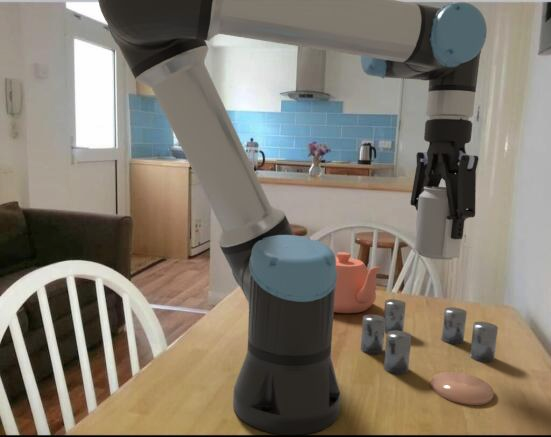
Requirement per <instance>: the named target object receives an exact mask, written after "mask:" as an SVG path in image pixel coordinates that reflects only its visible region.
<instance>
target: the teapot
mask: <svg viewBox="0 0 551 437" xmlns="http://www.w3.org/2000/svg"><path fill="white" fill-rule="evenodd" d="M351 255H352V254H351V253H350V252H345V251H338V252H337V253H336V256H335V258H336V270H337V272H336V273H337V282H336V285H335V300H334V313H338V314H357V313H361V312H362V313H363V312H365V311H367V310H368V309H369V308H370V307H372V305H374V303H375V301H376V300H377V298H376V297H377V294H376V290H377V274H378V272H379V270H381V269H382V268H383V266H373V267H370V268H369V269H368V267H367V266H366V265H365V263H364V262H363V261H362V260H361V259H356V258H353V257H351Z"/></svg>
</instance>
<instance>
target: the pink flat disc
mask: <svg viewBox="0 0 551 437" xmlns="http://www.w3.org/2000/svg"><path fill="white" fill-rule="evenodd" d="M430 385H431V388H432V390H433V391H434V392H435V394H437V395H438V396H440V397H441V398H444V399H446V400H447V401H450V402H454V403H457V404H461V405H468V406H481V405H486V404H489V403H491V401H493V398H494V389H493V387H492V385H490V384H489V383H488V382H486V381H485V380H483V379H481V378H480V377H477V376H474V375H471V374H469V373H464V372H458V371H441V372H439V373H435V374H434V375H433V376H432V378H431V384H430Z"/></svg>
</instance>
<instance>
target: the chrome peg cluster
mask: <svg viewBox="0 0 551 437" xmlns="http://www.w3.org/2000/svg"><path fill="white" fill-rule="evenodd" d="M406 305H407V304H406V302H405V301H402V300H400V299H395V298H394V299H393V298H391V299H385V301H384V311H383V312H384V314H383V316H382V315H378V314H372V313H371V314H370V313H369V314H364V315H363V316H362V326H361V335H360V336H361V341H360V350H361V351H362V352H363V353H365V354H369V355H381V354H382V353H383V352H384V361H383V364H384V365H383V369H384V370H385V371H386V372H388V373H389V374H393V375H406V374H408V372H409V365H410V355H411V343H412V334H410V333H408V332H406V331H404V325H405V314H406ZM466 321H467V311H466V310H465V309H462V308H459V307H451V306H450V307H449V306H448V307H445V308H444V312H443V323H442V332H441V340H442V341H443V342H444V343H447V344H451V345H462V344H464V342H465V341H464V339H465V331H466ZM498 327H499V326H497V325H496V324H493V323H491V322H487V321H475V322H474V323H473V327H472V335H471V336H472V337H471V343H470V345H471V346H470V354H469V356H470V358H472V359H473V360H474V361H477V362H481V363H493V362H494V360H495V355H496V345H497V338H498V329H499V328H498ZM385 334H386V338H385ZM384 339H386V340H384ZM384 342H385V350H384Z"/></svg>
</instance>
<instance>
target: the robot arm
mask: <svg viewBox="0 0 551 437" xmlns="http://www.w3.org/2000/svg"><path fill="white" fill-rule="evenodd" d="M98 5H99V9H100V11H101V14H102V17H103V18H104V20H105V22H106V24H107V26H108V27H107V28H108V30H109V33H110V34H111V37H112V39H113V40H114V42H115V43H116V45H117V46H118V48H119V50H120V52H121V54H122V55H123V58H124V59H125V62H126V63H127V66H128V68H129V69H130V71H131V73H132V75H133V78H135V81H136V82H137V83H139V84H142V85H144V86H147V87H149V88H151V90H152V92H153V94H154V96H155V97H156V100H157V102H158V103H159V104H158V105H159V106H160V108H161V110H162V112H163V114H164V116H165V118H166V120H167V122H168V124H169V126H170V128H171V130H172V132H173V133H174V136H175V138H176V139H177V142H178V144H179V146H180V148H181V150H182V152H183V153H184V156H185V158H186V160H187V162H188V164H189V166H190V167H191V170H192V172H193V174H194V176H195V178H196V180H197V182H198V184H199V186H200V188H201V190H202V191H203V193H204V196H205V197H206V200H207V201H208V204H209V207H210V208H211V210H212V213H213V214H214V216H215V218H216V220H217V222H218V224H219V226H220V228H221V233H220V236H219V239H218V245H219V248H220V249H221V251H222V253H223V255H224V257H225V259H226V262H227V263H228V265H229V267H230V269H231V273H232V277H233V278H234V279H235V281H236V283H237V285H238V286H239V287H240V289H241V291H242V293H243V295H244V297H245V299H246V301H247V303H248V327H247V329H248V330H247V352H246V355H245V358H244V359H243V360H244V361H243V362H242V364H241V365H242V366H241V368H240V369H239V370H240V371H239V372H238V373H239V374H238V375H237V376H238V377H237V379H236V382H235V384H234V387H233V403H232V405H233V410H234V413H235V414H236V415H237V417H238V418H239V419H240V420H241V421H243V422H244V423H245V424H247V425H249V426H251V427H252V428H255V429H257V430H259V431H262V432H267V433H271V434H275V435H284V436H299V435H306V434H312V433H316V432H318V431H321V430H325V429H326V428H328V427H330V426H331V425H332V424H333V423H335V421H337V419H339V418H338V417H339V416H340V414H341V400H342V397H341V390H340V386H339V382H338V379H337V376H336V372H335V368H334V365H333V360H332V355H331V354H332V341H333V340H332V339H333V327H334V326H333V325H334V314H335V312H334V300H335V285H336V282H337V273H336V272H337V270H336V258H335V257H336V255H335V253H334V252H333V250H332V249H331V248H330V247H329V245H327V244H325V243H323V242H321V241H319V240H318V239H311V237H307V236H302V235H295V233H294V231H293V229H292V226H291V224H290V222H289V219H288V218H287V215H286V214H285V212H284V211H283V210H282V209H279V208H276V207H273V206H272V205H271V204H270V202H269V199H268V197H267V194H266V193H265V191H264V189H263V186H262V185H261V182H260V180H259V177H258V175H257V174H256V172H255V170H254V167H253V165H252V163H251V161H250V158H249V156H248V154H247V152H246V150H245V148H244V146H243V143H242V141H241V139H240V137H239V135H238V132H237V130H236V128H235V127H234V124H233V123H232V119H231V117H230V116H229V113H228V111H227V109H226V107H225V105H224V102H223V101H222V98H221V97H220V94H219V92H218V90H217V87H216V85H215V84H214V81H213V79H212V77H211V74H210V73H209V71H208V68H207V67H206V63H205V62H206V58H207V55H208V52H209V47H208V44H207V42H209V41H211V40H212V39H213V38H214V37H215V36H217V35H225V36H231V37H237V38H245V39H248V40H249V39H250V40H257V41H263V42H269V43H270V42H271V43H275V44H277V43H278V44H282V45H289V46H295V47H300V48H308V49H314V50H322V51H326V52H327V51H328V52H335V53H339V54H340V53H341V54H347V55H354V56H359V57H360V64H361V68H362V70H363V72H364V73H365V74H366V75H368V76H372V77H379V78H381V79H385V78H387V79H388V78H389V79H391V78H392V79H401V80H402V79H405V80H420V81H428V92H427V101H426V111H425V115H426V116H427V117H428V118H429V119H426V121H425V123H424V135H423V137H424V138H423V139H424V141H425V142H426V143H428V142H429V145H428V148H427V151H425V152H424V151H423V152H421V151H418V152H417V153H416V167H415V168H416V169H415V172H414V173H415V174H414V180H413V185H412V189H411V190H412V192H411V196H410V205H411V206H414V207H415V210H416V211H417V212H416V213H418V202H419V195H420V194H421V193H422V192H423V191H424V187H440V184H441V180H443V181H444V183H445V187H446V191H447V198H448V205H449V212H450V216H447V219H446V227H445V237H444V247H443V257H444V258H452V259H456V258H457V259H458V258H460V252H461V251H460V250H461V242H462V239H463V236H464V229H465V228H464V227H465V221H466V219H468V218H469V219H470V218H474V217H475V216H476V179H477V178H476V174H477V171H476V170H477V167H478V163H479V156H478V155H470V154H467V152H466V144H469V143H470V142H471V140H472V133H473V122H472V121H471V120H470V118H472V117H474V112H475V111H474V110H475V102H476V101H475V100H476V91H477V84H478V76H479V66H480V60H481V59H480V58H481V53H482V49H483V48H484V46H485V43H486V38H487V30H488V28H487V23H486V19H485V17H484V14H483V13H482V11H480V10H479V8H477V7H476V6H475V5H474V4H471V3H469V2H462V1H461V2H456V3H448V4H446V5H443V6H441V7H435V6H430V5H425V4H419V3H411V2H407V1H401V0H98ZM457 210H458V211H457ZM415 222H416V223H417V221H415Z"/></svg>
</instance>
